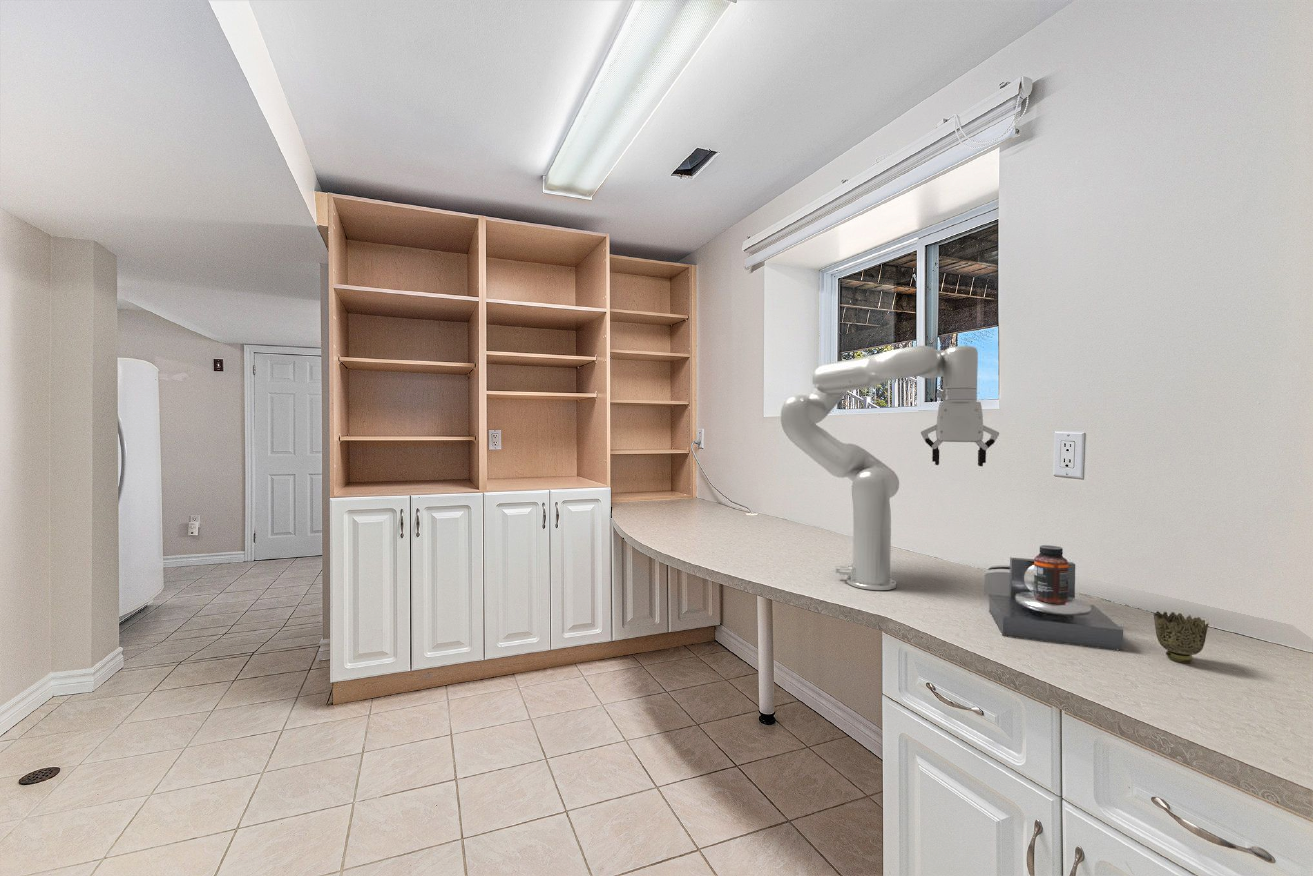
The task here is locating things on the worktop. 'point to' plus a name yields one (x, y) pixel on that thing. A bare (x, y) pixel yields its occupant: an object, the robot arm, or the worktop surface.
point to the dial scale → (1051, 613)
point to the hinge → (997, 580)
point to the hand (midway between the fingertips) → (958, 465)
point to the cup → (1180, 635)
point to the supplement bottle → (1051, 575)
